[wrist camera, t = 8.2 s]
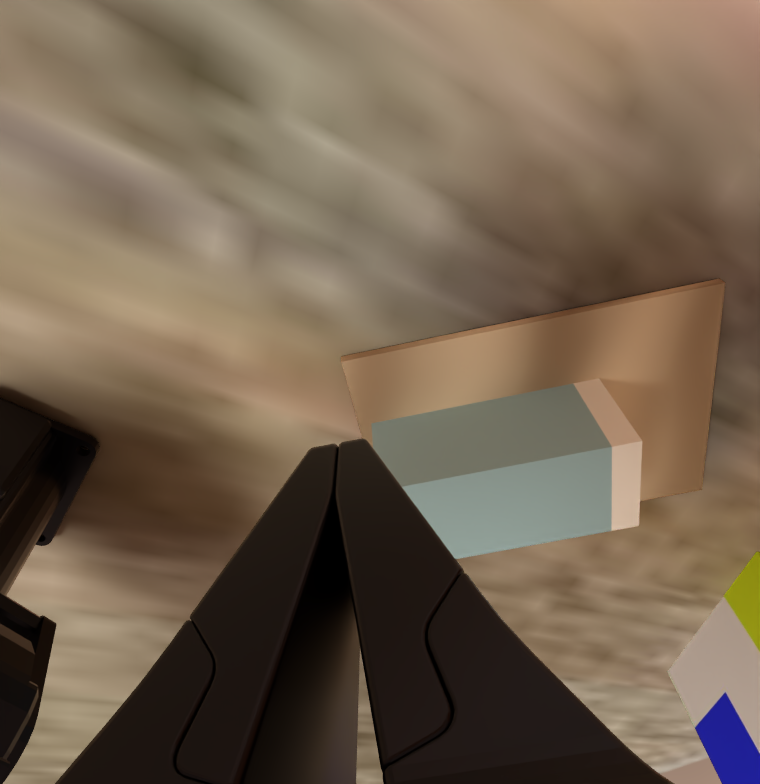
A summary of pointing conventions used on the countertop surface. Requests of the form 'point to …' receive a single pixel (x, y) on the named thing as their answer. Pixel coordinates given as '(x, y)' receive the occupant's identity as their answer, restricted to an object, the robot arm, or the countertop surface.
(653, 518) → the countertop surface
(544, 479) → the pillar
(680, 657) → the puzzle toy
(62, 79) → the countertop surface
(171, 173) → the countertop surface
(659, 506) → the countertop surface
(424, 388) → the mat
